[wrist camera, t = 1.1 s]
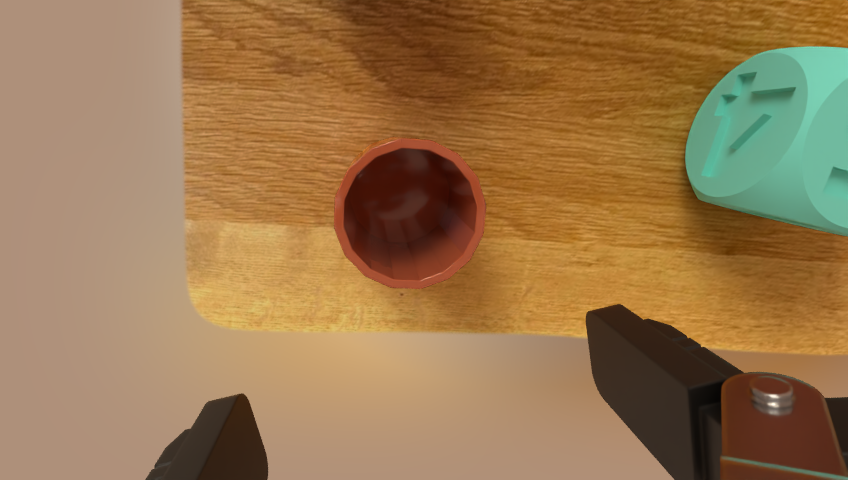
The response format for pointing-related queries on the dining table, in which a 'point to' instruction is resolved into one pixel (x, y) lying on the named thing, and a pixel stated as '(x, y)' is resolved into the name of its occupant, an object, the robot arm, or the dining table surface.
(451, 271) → the terracotta cup
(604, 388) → the robot arm
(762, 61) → the decorative dice
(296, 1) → the dining table surface
